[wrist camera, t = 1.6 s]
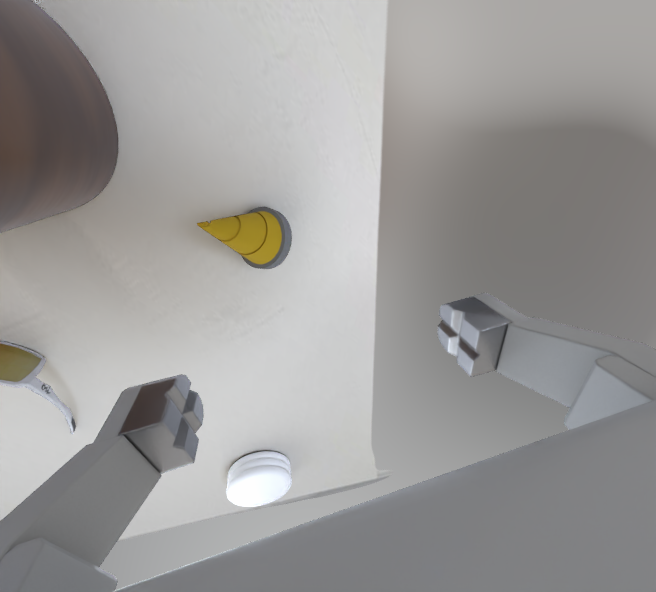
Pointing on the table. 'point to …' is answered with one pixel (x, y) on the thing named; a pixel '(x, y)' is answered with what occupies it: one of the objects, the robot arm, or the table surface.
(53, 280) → the table surface
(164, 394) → the robot arm
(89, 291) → the table surface
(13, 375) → the sunglasses
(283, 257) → the yellow tiered cone
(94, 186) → the stand
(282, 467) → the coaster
